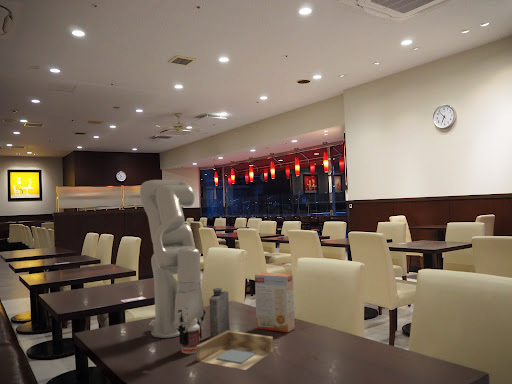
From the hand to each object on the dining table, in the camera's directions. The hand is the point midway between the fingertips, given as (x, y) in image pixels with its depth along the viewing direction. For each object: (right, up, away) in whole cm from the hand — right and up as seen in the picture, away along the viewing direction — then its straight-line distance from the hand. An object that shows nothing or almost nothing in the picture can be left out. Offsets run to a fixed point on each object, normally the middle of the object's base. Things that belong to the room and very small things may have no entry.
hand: (190, 340), depth 139 cm
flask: (+8, -4, +12) cm, 16 cm away
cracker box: (+29, -4, +23) cm, 37 cm away
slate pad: (+15, -2, -8) cm, 17 cm away
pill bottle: (0, -4, 0) cm, 4 cm away
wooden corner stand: (+15, -3, -6) cm, 17 cm away
